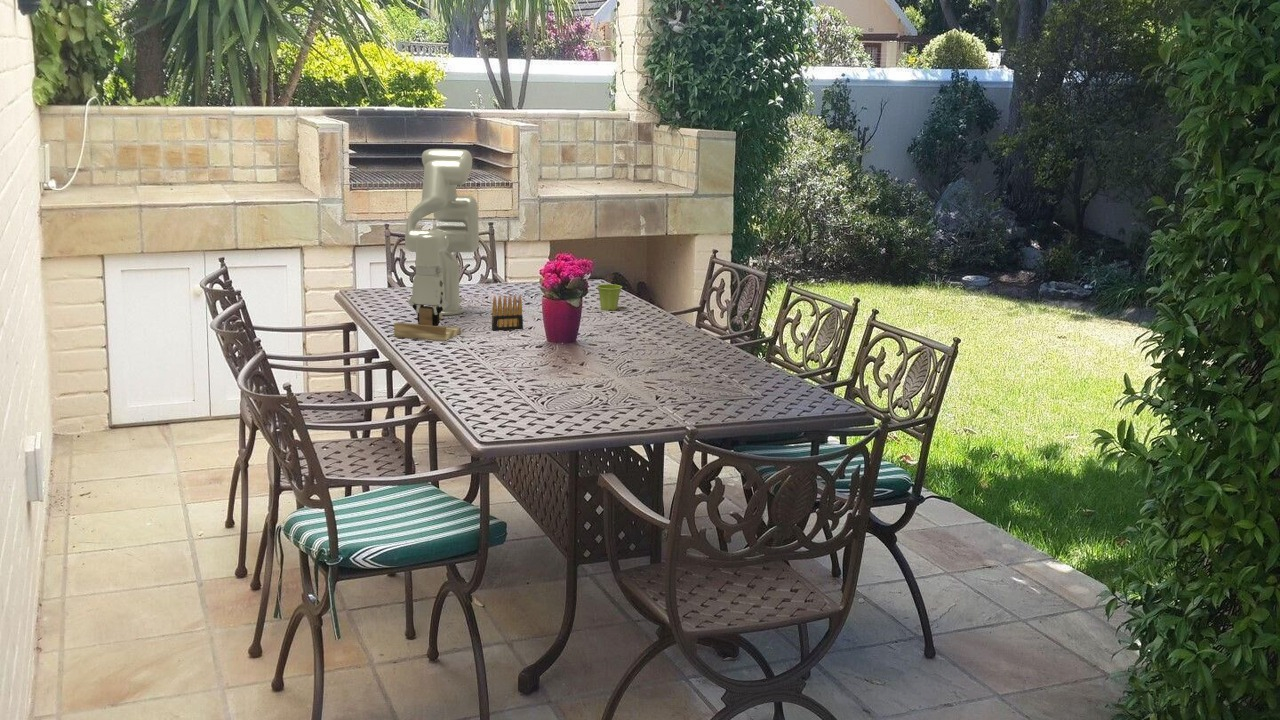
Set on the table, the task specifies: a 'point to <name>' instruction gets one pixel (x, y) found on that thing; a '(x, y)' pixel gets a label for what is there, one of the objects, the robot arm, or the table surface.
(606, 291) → the plant pot
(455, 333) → the board
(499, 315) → the ammunition clip
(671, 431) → the table surface
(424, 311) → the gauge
